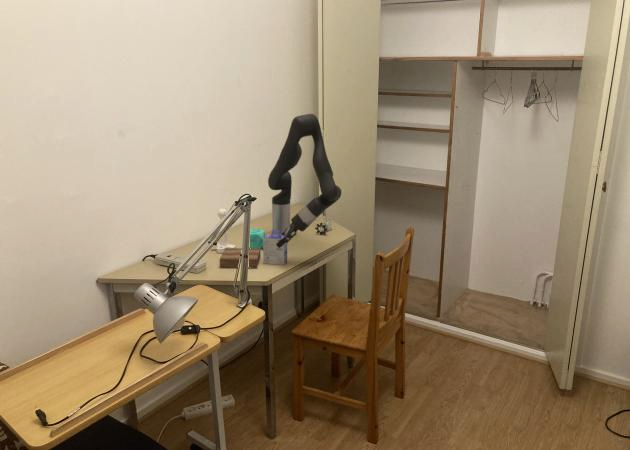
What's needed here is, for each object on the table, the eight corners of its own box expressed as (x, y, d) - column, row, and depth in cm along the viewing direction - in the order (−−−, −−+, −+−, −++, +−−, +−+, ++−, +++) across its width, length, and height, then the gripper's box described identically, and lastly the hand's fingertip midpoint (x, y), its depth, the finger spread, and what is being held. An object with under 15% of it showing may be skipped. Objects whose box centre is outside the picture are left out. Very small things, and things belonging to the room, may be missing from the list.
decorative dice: (246, 249, 253) (246, 233, 251) (248, 244, 261) (248, 228, 258) (263, 249, 253) (263, 233, 251) (265, 244, 261) (264, 228, 258)
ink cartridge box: (288, 261, 239) (287, 230, 235) (284, 265, 234) (284, 234, 230) (266, 259, 241) (266, 228, 237) (263, 263, 236) (262, 232, 232)
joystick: (236, 249, 254) (235, 208, 248) (230, 254, 246) (229, 212, 241) (214, 247, 256) (212, 206, 250) (208, 252, 249) (206, 211, 243)
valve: (323, 228, 287) (314, 234, 276) (323, 216, 285) (314, 222, 274) (334, 229, 285) (326, 236, 274) (334, 217, 283) (327, 223, 272)
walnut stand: (225, 256, 244) (225, 248, 243) (260, 256, 244) (260, 248, 243) (219, 267, 231) (219, 259, 229) (257, 268, 231) (256, 259, 229)
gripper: (298, 208, 238) (273, 232, 241) (297, 217, 224) (270, 242, 227) (310, 219, 239) (285, 243, 243) (310, 229, 226) (283, 254, 229)
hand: (278, 243), depth 235 cm, fingers open, 8 cm apart
